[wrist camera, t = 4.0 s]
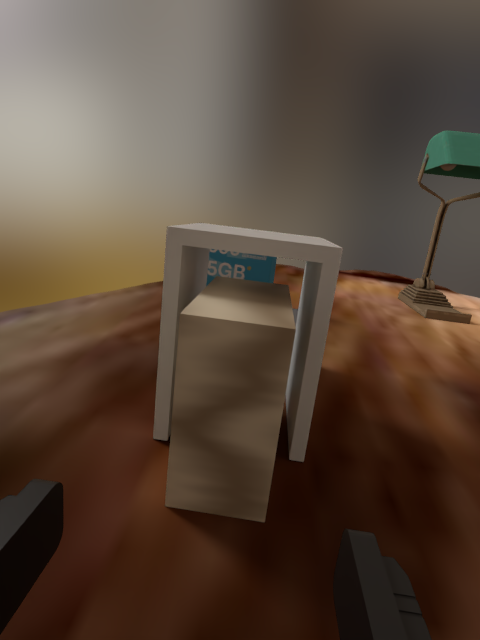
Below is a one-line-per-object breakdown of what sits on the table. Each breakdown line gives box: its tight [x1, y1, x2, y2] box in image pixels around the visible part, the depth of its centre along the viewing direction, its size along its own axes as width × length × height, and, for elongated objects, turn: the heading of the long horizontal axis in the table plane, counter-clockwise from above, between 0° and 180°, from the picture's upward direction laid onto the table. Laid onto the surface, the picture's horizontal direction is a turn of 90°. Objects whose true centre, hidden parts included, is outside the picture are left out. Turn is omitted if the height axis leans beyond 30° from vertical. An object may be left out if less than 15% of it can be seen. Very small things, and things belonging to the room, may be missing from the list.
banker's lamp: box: [398, 131, 480, 324], centre depth 81 cm, size 16×21×35 cm
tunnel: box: [153, 223, 343, 462], centre depth 31 cm, size 10×11×14 cm
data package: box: [206, 249, 277, 286], centre depth 69 cm, size 12×4×12 cm, turn 75°
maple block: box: [165, 276, 296, 522], centre depth 26 cm, size 6×12×11 cm, turn 175°
